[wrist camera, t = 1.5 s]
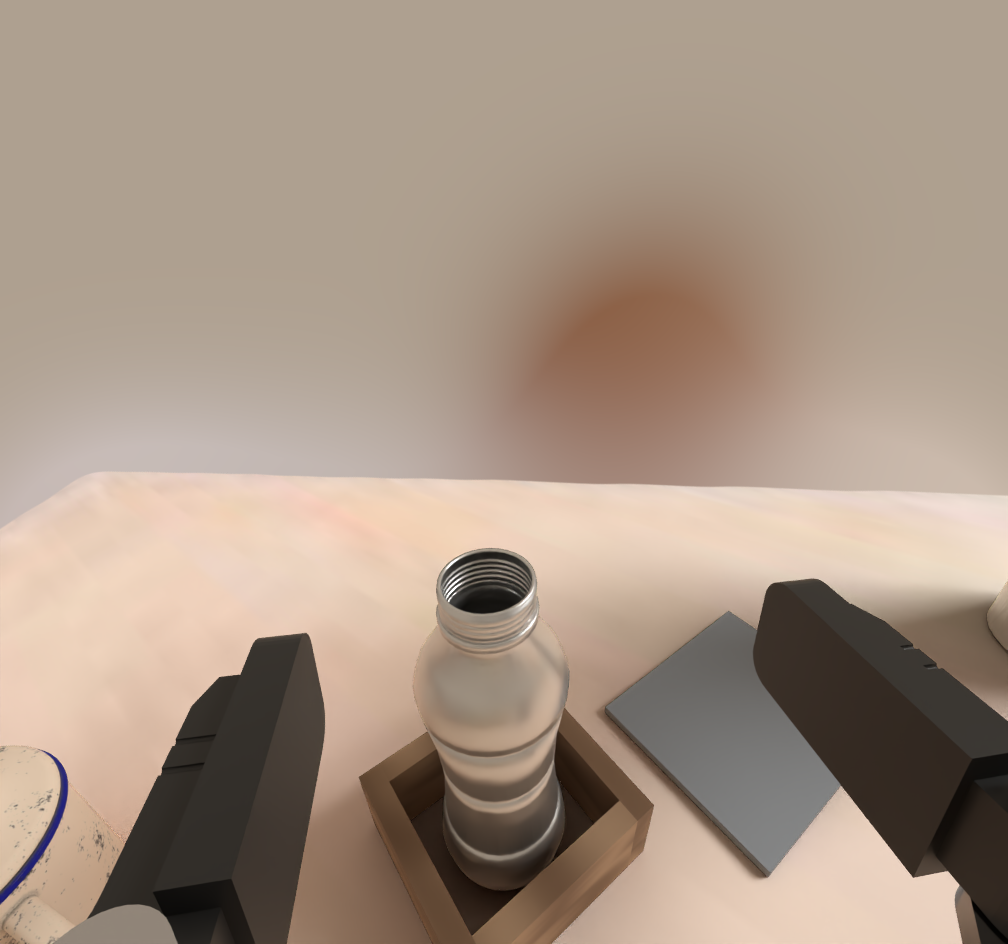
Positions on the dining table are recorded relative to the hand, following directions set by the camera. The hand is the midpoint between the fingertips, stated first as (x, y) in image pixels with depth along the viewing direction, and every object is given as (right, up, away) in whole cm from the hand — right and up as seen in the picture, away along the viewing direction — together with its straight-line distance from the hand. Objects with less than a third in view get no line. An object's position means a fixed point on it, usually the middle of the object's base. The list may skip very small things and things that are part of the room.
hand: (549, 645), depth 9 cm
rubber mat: (+15, -14, +26) cm, 33 cm away
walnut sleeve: (-1, -18, +21) cm, 27 cm away
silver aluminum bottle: (-1, -18, +21) cm, 28 cm away
